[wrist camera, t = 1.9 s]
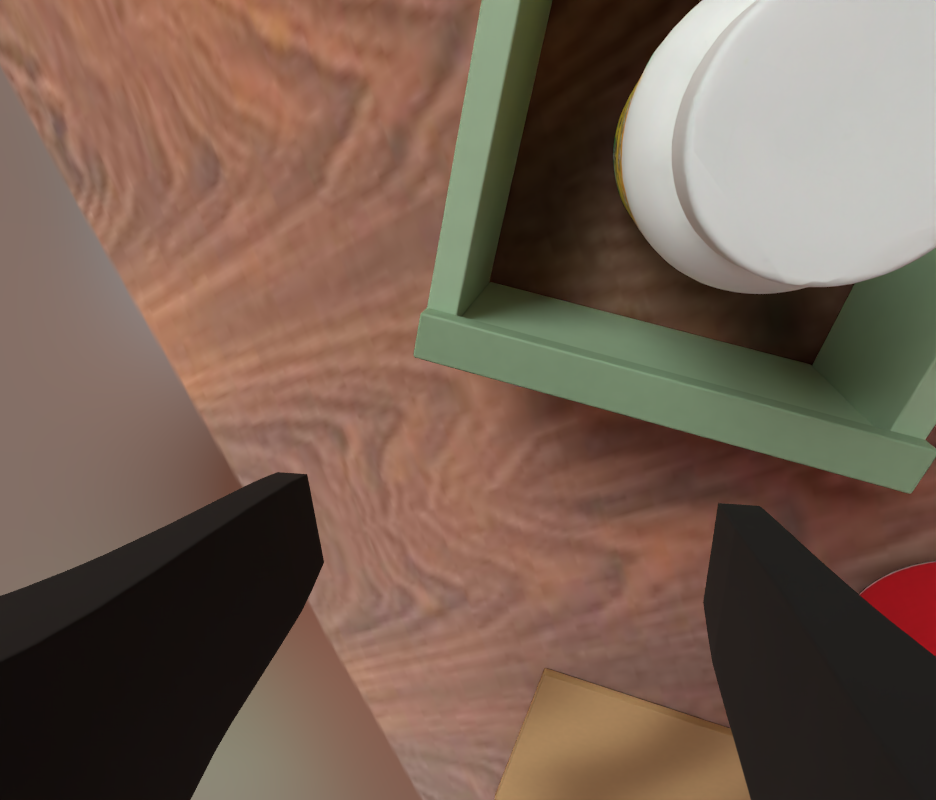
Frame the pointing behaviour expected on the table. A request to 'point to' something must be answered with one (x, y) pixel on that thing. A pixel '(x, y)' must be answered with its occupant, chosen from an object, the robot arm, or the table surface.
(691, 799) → the cork mat
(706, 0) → the supplement bottle
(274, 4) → the table surface
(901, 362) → the tub
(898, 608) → the beverage can
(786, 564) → the robot arm
